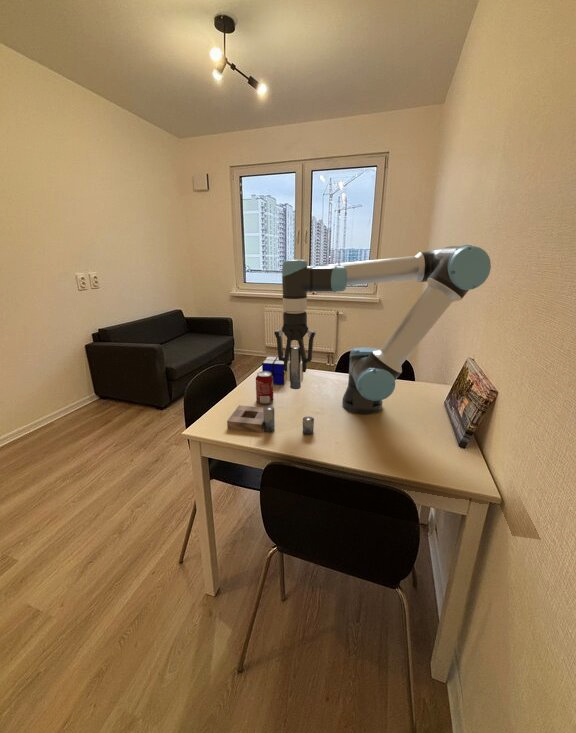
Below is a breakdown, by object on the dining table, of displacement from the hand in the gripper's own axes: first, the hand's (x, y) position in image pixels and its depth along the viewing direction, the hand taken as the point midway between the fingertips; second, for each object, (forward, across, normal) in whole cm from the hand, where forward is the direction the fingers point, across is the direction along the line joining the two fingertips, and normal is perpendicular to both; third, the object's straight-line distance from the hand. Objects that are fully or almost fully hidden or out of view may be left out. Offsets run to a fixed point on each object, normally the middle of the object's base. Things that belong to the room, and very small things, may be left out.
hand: (295, 380), depth 109 cm
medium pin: (+15, +8, +8) cm, 19 cm away
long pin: (+3, 0, 0) cm, 3 cm away
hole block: (+15, +16, +4) cm, 22 cm away
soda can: (+15, +15, -13) cm, 25 cm away
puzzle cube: (+16, +16, -36) cm, 42 cm away
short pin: (+16, -5, +7) cm, 18 cm away
